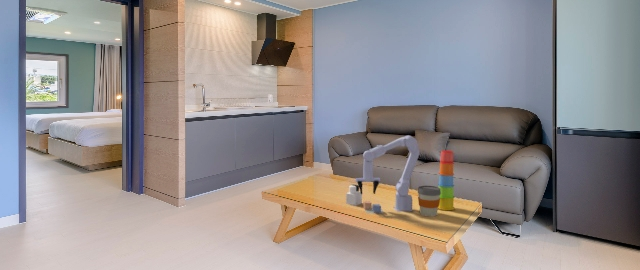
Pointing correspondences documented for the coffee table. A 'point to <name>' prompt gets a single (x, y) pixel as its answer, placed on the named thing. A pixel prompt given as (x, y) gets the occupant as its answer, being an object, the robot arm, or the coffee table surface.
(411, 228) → the coffee table surface
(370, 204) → the salmon orange cube
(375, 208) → the blue brick
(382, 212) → the plate
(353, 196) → the medicine bottle
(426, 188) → the reusable coffee cup
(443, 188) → the stacking cups
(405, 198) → the robot arm
